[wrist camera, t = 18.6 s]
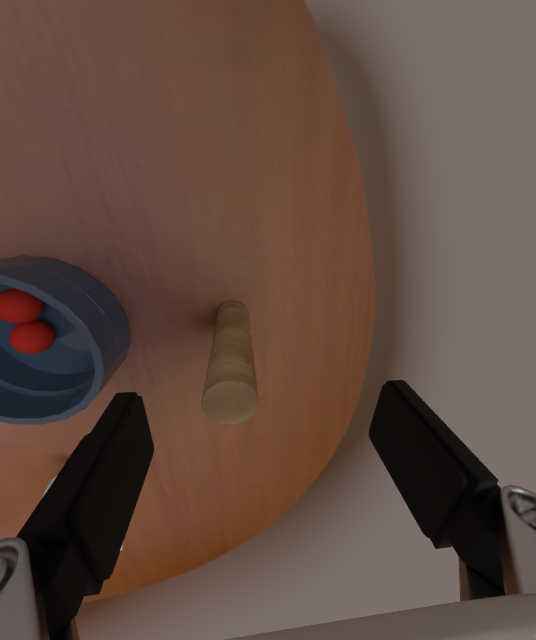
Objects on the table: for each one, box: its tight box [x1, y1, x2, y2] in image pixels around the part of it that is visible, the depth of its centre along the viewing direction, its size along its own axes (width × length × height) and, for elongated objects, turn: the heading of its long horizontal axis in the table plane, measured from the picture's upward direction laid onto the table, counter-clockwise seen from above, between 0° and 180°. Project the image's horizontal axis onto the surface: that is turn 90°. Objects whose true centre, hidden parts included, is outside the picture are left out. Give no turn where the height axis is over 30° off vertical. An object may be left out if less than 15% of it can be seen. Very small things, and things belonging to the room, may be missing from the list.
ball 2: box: [9, 320, 56, 354], centre depth 22 cm, size 3×3×3 cm
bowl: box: [0, 255, 130, 424], centre depth 21 cm, size 13×13×6 cm
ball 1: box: [0, 288, 43, 323], centre depth 20 cm, size 3×3×3 cm
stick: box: [201, 301, 259, 425], centre depth 19 cm, size 3×3×13 cm
